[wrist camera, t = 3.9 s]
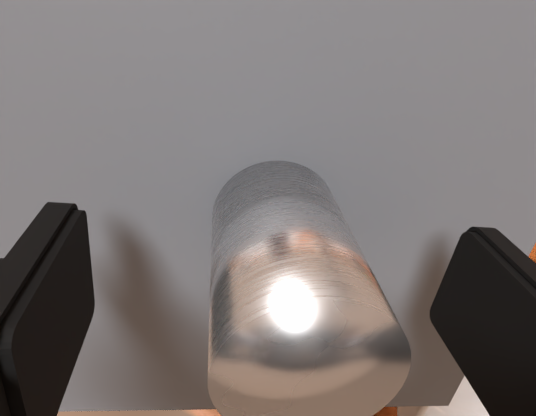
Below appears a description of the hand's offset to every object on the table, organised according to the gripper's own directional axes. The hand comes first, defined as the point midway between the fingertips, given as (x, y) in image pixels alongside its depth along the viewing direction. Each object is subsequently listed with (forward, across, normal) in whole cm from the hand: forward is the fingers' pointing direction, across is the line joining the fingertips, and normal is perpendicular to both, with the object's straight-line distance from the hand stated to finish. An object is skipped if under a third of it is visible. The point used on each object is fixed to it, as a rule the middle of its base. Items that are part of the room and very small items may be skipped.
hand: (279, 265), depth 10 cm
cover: (+12, 0, 0) cm, 12 cm away
